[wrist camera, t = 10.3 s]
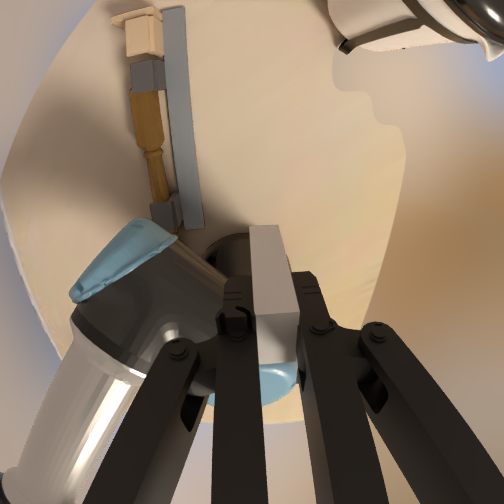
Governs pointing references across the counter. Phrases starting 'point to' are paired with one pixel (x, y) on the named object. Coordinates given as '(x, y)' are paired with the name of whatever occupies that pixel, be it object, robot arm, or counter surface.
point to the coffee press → (419, 23)
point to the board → (179, 103)
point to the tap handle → (151, 141)
